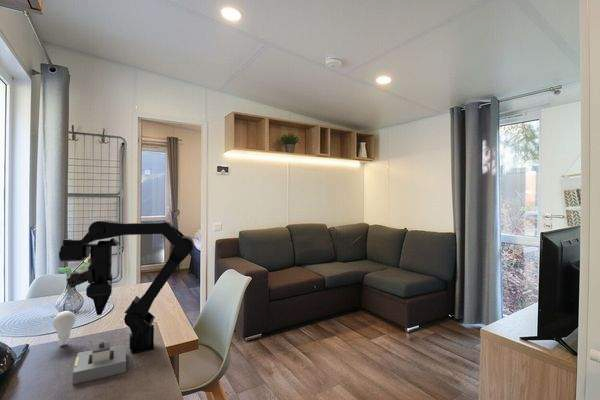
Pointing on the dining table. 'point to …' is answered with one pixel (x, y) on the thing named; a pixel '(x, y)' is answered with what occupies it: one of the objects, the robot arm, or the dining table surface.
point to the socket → (99, 365)
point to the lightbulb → (64, 325)
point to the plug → (101, 352)
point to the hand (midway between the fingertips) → (99, 310)
